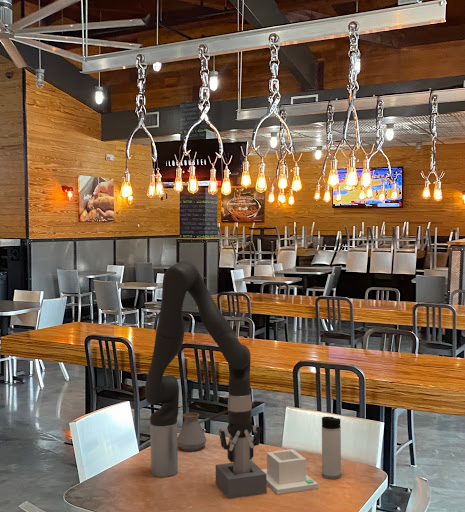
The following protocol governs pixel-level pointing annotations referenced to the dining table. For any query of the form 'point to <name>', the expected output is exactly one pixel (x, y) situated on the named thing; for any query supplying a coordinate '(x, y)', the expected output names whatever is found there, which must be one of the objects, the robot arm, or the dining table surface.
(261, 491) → the holster
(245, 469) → the vintage mobile phone
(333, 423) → the travel mug
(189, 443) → the coffee pot
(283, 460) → the charging dock
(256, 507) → the dining table surface
